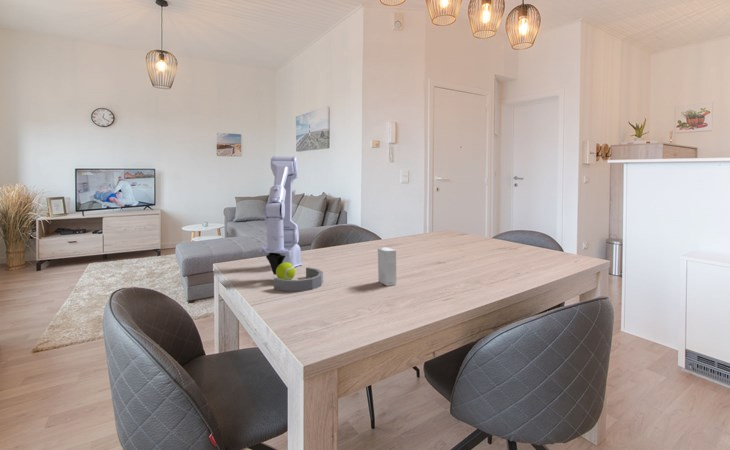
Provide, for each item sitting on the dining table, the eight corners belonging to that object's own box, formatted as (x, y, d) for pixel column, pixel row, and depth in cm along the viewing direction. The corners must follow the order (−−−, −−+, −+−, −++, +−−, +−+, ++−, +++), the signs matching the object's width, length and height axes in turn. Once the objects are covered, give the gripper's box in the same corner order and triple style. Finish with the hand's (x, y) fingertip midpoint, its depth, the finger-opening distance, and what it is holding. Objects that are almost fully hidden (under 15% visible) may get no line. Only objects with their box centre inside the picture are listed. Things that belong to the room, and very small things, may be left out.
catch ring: (308, 276, 137) (308, 267, 137) (332, 281, 131) (332, 271, 131) (273, 289, 122) (273, 278, 122) (299, 294, 117) (299, 284, 116)
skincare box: (396, 284, 128) (397, 250, 126) (385, 286, 126) (386, 251, 124) (388, 280, 133) (388, 246, 132) (377, 281, 131) (377, 247, 130)
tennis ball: (288, 277, 136) (288, 259, 135) (299, 281, 131) (298, 262, 130) (272, 281, 131) (271, 262, 130) (282, 285, 127) (282, 266, 126)
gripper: (252, 236, 132) (253, 273, 134) (282, 240, 124) (283, 279, 126) (267, 233, 138) (268, 269, 140) (296, 237, 130) (297, 274, 132)
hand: (276, 273), depth 133 cm, fingers closed
